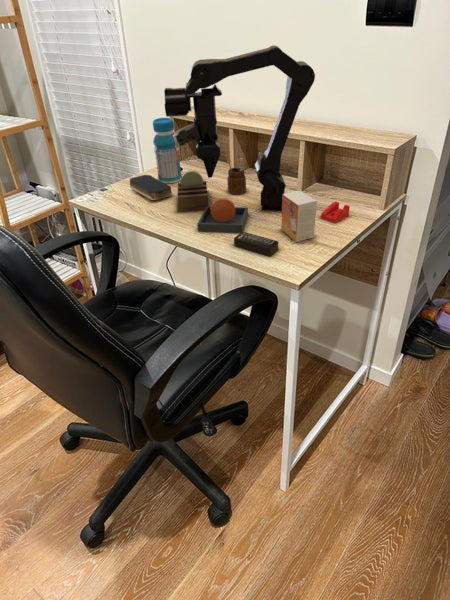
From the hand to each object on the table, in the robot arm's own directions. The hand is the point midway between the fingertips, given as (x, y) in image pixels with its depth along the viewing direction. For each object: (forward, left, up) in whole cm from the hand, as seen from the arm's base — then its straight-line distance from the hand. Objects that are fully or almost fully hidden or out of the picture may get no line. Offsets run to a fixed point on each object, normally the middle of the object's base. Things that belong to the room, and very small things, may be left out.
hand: (209, 171), depth 129 cm
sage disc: (+8, -8, -7) cm, 13 cm away
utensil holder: (-5, -15, -12) cm, 20 cm away
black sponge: (+23, -12, -12) cm, 29 cm away
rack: (+7, -5, -12) cm, 15 cm away
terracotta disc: (-5, +8, -8) cm, 12 cm away
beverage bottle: (+20, -24, -12) cm, 34 cm away
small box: (-26, +13, -12) cm, 31 cm away
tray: (-5, +8, -12) cm, 15 cm away
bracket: (-36, +2, -12) cm, 38 cm away
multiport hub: (-16, +21, -12) cm, 29 cm away
